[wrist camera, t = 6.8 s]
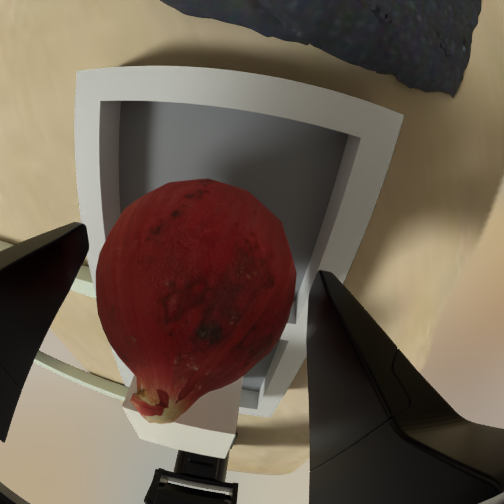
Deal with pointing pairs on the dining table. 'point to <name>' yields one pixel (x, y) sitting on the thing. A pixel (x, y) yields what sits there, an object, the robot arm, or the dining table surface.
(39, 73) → the dining table surface
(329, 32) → the dark folded cloth
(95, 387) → the pale green square frame
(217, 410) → the cream block
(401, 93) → the dining table surface
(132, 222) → the onion
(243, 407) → the grey divided tray
